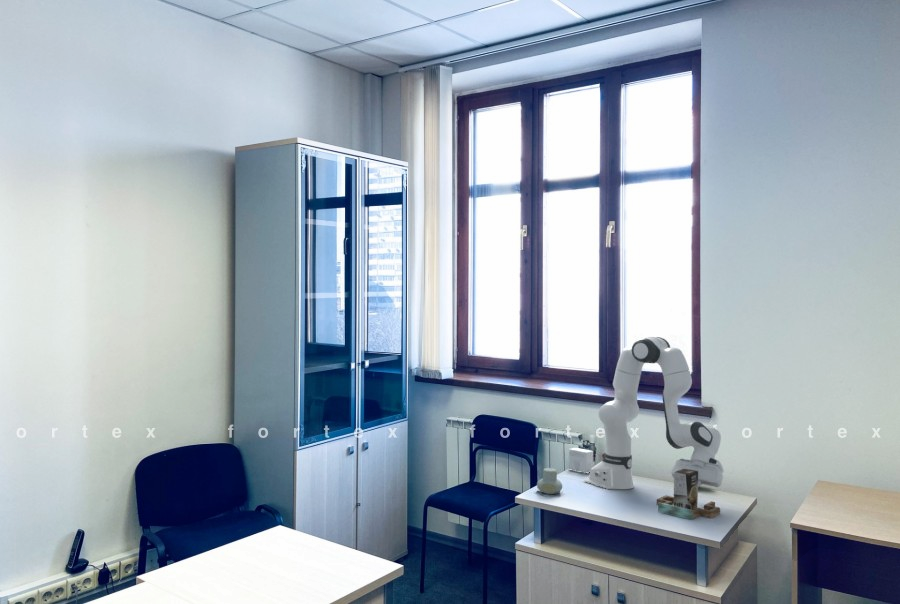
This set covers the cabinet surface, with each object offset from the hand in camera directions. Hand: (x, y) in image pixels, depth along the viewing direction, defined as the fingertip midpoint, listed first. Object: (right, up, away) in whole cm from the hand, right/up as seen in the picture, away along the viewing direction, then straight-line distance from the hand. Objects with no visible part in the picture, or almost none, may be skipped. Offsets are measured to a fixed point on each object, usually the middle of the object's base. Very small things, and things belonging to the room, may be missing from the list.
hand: (690, 490), depth 276 cm
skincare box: (-34, -7, +58) cm, 68 cm away
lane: (-2, -7, -2) cm, 8 cm away
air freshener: (-55, -7, +20) cm, 58 cm away
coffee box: (-3, -8, -4) cm, 9 cm away
